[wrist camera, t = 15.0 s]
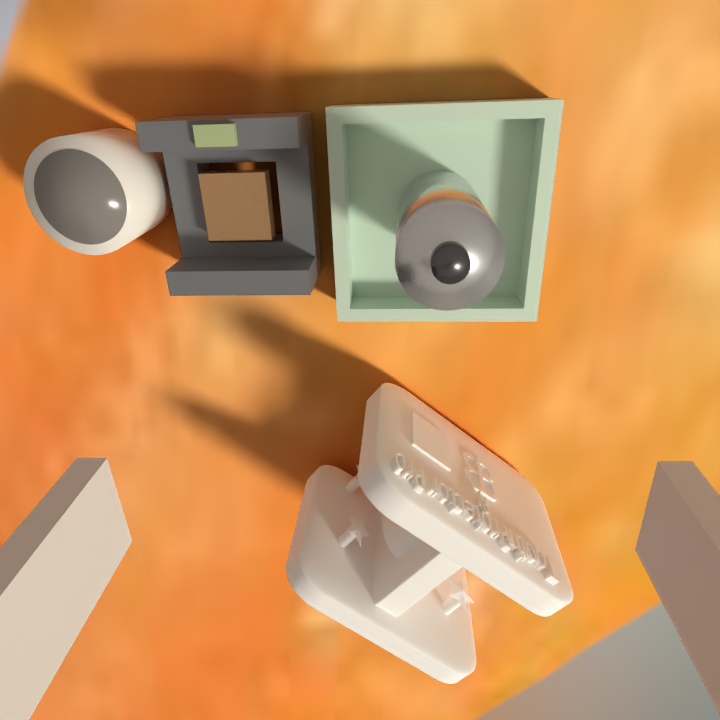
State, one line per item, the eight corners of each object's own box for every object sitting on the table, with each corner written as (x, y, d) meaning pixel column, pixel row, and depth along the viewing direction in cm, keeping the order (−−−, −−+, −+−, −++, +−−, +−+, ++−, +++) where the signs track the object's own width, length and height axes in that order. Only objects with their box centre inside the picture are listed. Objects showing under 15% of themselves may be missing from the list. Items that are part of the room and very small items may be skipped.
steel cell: (397, 252, 32) (394, 317, 24) (397, 170, 30) (394, 209, 21) (475, 251, 32) (502, 317, 23) (481, 169, 30) (514, 207, 21)
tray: (342, 303, 35) (337, 321, 33) (332, 105, 30) (325, 107, 27) (526, 302, 34) (536, 321, 32) (549, 97, 29) (564, 99, 26)
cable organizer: (299, 457, 41) (264, 583, 31) (388, 362, 37) (382, 472, 27) (448, 555, 45) (461, 697, 34) (545, 478, 40) (593, 615, 30)
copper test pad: (214, 236, 32) (209, 240, 31) (204, 170, 30) (198, 173, 29) (275, 235, 31) (271, 239, 30) (268, 169, 30) (264, 172, 29)
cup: (90, 232, 34) (42, 256, 30) (63, 129, 32) (6, 137, 27) (182, 231, 34) (148, 254, 29) (163, 126, 31) (122, 134, 27)
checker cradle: (197, 270, 35) (167, 298, 30) (170, 116, 31) (131, 122, 26) (321, 269, 34) (309, 297, 30) (311, 111, 30) (294, 117, 26)
